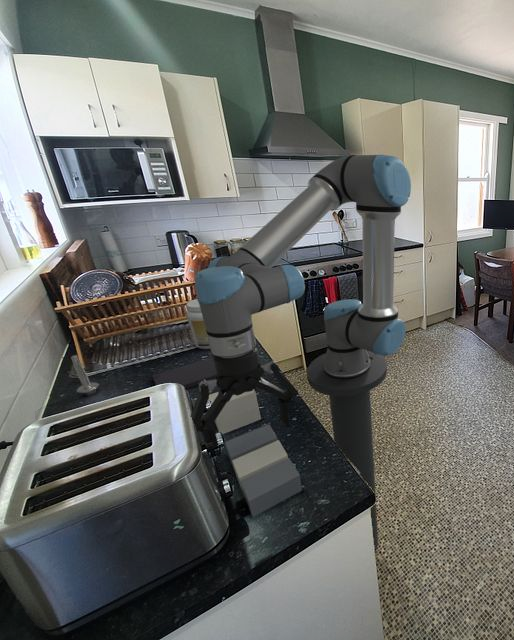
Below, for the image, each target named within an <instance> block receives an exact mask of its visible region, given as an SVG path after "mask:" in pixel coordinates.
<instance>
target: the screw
mask: <svg viewBox="0 0 514 640" xmlns="http://www.w3.org/2000/svg"><path fill="white" fill-rule="evenodd" d="M70 359H71V361H72V363H73V364H72V367H73V368H74V369H75V373H76V375H77V377H78V379H79V382H80V384H81V385H80V386H79V387H78V388H77V389H76V393H78V394H83V396H86V397H89V396H92V395H95V394H96V393H97V389H98V388H99V387H100V384H99V383H98V382H91V381H90V379H89V376H88V375H87V371H86V369H85V368H84V365H83V363H82V362H81V361H80V358H79V356H78V355H72V356H71V357H70Z"/></svg>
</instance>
